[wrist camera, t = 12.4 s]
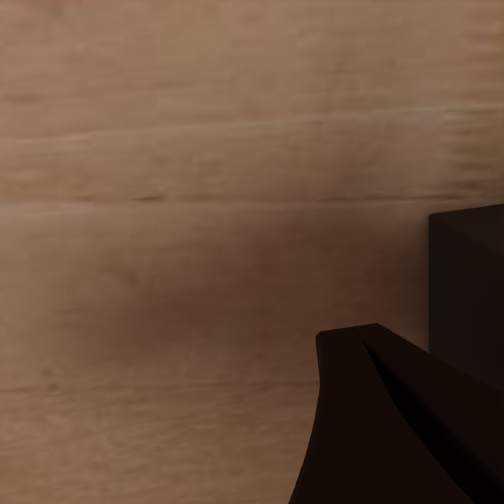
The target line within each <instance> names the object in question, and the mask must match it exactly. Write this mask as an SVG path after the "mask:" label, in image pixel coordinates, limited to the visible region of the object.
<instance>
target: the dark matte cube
mask: <svg viewBox="0 0 504 504" xmlns="http://www.w3.org/2000/svg"><path fill="white" fill-rule="evenodd" d="M429 325H430V354H431V355H433V356H435V357H437V358H438V359H440V360H442V361H444V362H445V363H447V364H449V365H451V366H453V367H454V368H456V369H458V370H460V371H462V372H464V373H466V374H468V375H470V376H471V377H473V378H475V379H477V380H479V381H482V382H484V383H486V384H488V385H490V386H492V387H494V388H496V389H498V390H500V391H502V392H504V205H497V206H490V207H483V208H476V209H469V210H462V211H455V212H448V213H441V214H434V215H430V216H429Z"/></svg>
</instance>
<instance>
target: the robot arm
mask: <svg viewBox="0 0 504 504" xmlns="http://www.w3.org/2000/svg"><path fill="white" fill-rule="evenodd" d="M315 338H316V348H317V358H318V368H319V378H320V390H319V397H318V403H317V408H316V414H315V420H314V424H313V429H312V433H311V437H310V441H309V444H308V448H307V451H306V455H305V458H304V462H303V465H302V467H301V470H300V473H299V476H298V479H297V482H296V485H295V488H294V491H293V493H292V496H291V498H290V501H289V503H288V504H504V392H502V391H500V390H498V389H496V388H494V387H492V386H490V385H488V384H486V383H484V382H482V381H479V380H477V379H475V378H473V377H471V376H470V375H468V374H466V373H464V372H462V371H460V370H458V369H456V368H454V367H453V366H451V365H449V364H447V363H445V362H444V361H442V360H440V359H438V358H437V357H435V356H433V355H431V354H430V353H428V352H426V351H424V350H423V349H421V348H419V347H418V346H416V345H414V344H412V343H411V342H409V341H407V340H406V339H404V338H402V337H401V336H399V335H397V334H396V333H394V332H392V331H391V330H389V329H387V328H385V327H384V326H382V325H380V324H378V323H374V324H368V325H361V326H354V327H347V328H340V329H334V330H327V331H320V332H319V333H318V335H317V336H316V337H315Z"/></svg>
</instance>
